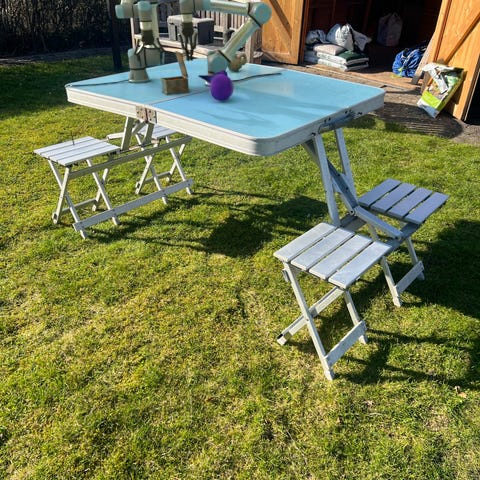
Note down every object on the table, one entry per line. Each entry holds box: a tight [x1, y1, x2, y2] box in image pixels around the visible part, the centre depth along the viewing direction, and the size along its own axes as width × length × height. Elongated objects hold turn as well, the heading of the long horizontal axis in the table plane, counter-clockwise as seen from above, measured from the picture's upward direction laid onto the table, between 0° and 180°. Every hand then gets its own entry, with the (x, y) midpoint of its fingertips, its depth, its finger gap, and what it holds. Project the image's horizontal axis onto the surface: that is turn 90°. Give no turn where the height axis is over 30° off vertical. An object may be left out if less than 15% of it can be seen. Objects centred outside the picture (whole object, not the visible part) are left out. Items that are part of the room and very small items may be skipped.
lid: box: [174, 50, 193, 79], centre depth 299 cm, size 16×11×8 cm
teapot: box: [227, 52, 248, 73], centre depth 364 cm, size 21×12×15 cm, turn 120°
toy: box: [198, 70, 235, 102], centre depth 281 cm, size 16×18×27 cm
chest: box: [160, 75, 190, 96], centre depth 303 cm, size 15×11×9 cm
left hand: (150, 65), depth 290 cm, fingers open, 13 cm apart
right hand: (189, 60), depth 299 cm, fingers closed on lid, 2 cm apart
